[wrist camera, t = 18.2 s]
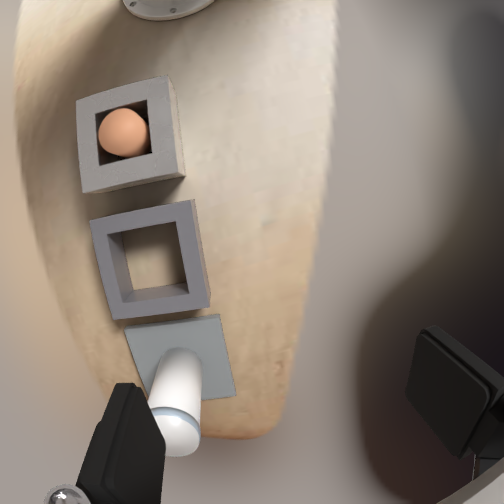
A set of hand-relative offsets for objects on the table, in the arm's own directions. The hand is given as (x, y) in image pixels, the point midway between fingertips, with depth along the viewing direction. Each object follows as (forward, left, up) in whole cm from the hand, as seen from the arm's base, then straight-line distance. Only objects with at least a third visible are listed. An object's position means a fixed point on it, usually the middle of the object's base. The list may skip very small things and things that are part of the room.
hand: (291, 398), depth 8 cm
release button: (-13, -9, -22) cm, 27 cm away
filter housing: (-1, -9, -23) cm, 24 cm away
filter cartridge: (+12, -9, -22) cm, 26 cm away
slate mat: (+12, -9, -23) cm, 27 cm away
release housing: (-13, -9, -23) cm, 28 cm away
